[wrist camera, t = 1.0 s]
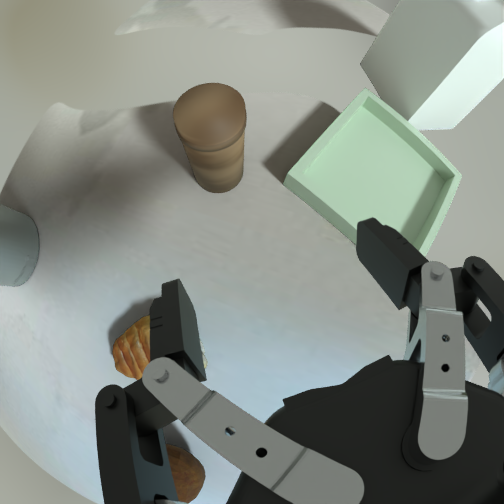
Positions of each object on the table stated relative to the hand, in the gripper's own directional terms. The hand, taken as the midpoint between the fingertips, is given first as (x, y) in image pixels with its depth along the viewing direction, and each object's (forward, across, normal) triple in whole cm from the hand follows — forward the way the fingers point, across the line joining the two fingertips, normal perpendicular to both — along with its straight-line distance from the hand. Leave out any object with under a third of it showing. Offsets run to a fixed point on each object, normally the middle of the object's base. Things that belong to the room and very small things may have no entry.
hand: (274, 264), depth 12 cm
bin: (+15, -17, +7) cm, 23 cm away
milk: (+23, -29, -1) cm, 37 cm away
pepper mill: (+19, 0, +2) cm, 19 cm away
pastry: (+8, +11, +14) cm, 19 cm away
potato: (-1, +15, +23) cm, 28 cm away
